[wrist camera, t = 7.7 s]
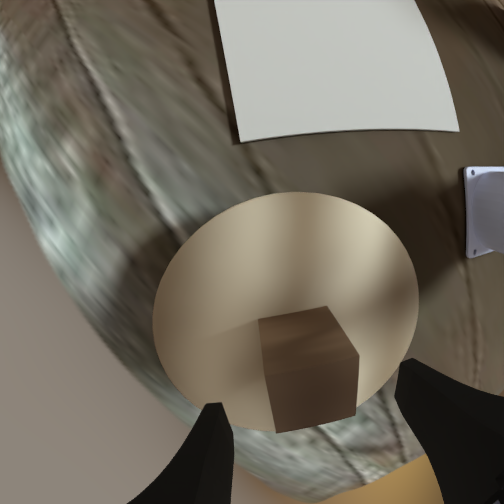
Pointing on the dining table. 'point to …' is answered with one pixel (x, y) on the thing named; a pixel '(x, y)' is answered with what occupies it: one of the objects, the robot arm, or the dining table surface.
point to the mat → (332, 67)
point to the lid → (286, 311)
